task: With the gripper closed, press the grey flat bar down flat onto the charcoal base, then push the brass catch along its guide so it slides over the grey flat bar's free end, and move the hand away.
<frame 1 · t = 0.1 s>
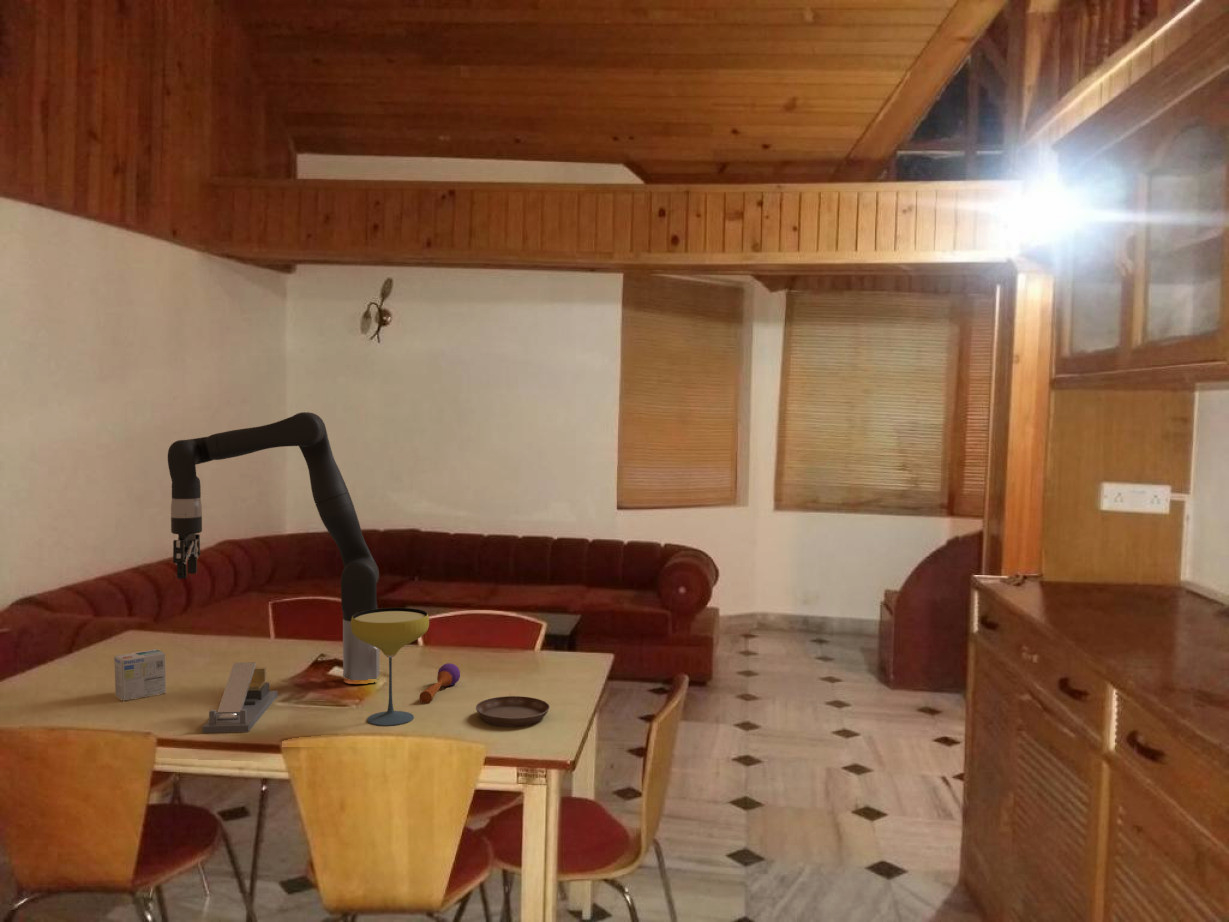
hand: (187, 576, 257), 29 cm above the table, tool pointing down, fingers open, 8 cm apart
plant saucer: (512, 719, 234), on the table
grey flat bar: (236, 690, 229), point 7 cm above the table, hinge at 30.0°
cocktail glass: (390, 719, 231), on the table
purple maraca: (439, 693, 254), on the table
light bulb box: (140, 696, 249), on the table
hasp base: (242, 713, 234), on the table
catch: (252, 678, 244), point 6 cm above the table, slide at 0.0 cm
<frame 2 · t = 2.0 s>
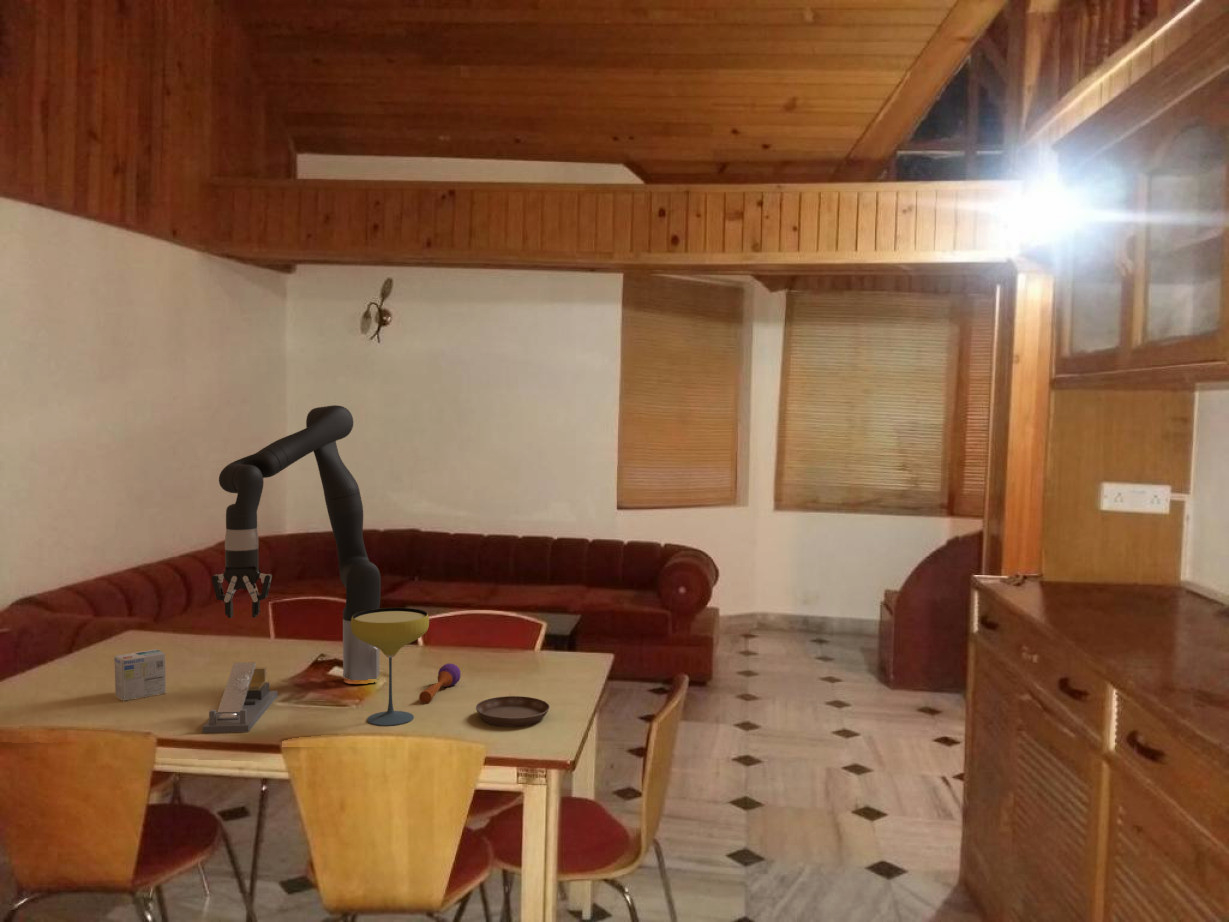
hand: (242, 616, 234), 23 cm above the table, tool pointing down, fingers open, 5 cm apart
nothing on the table moved.
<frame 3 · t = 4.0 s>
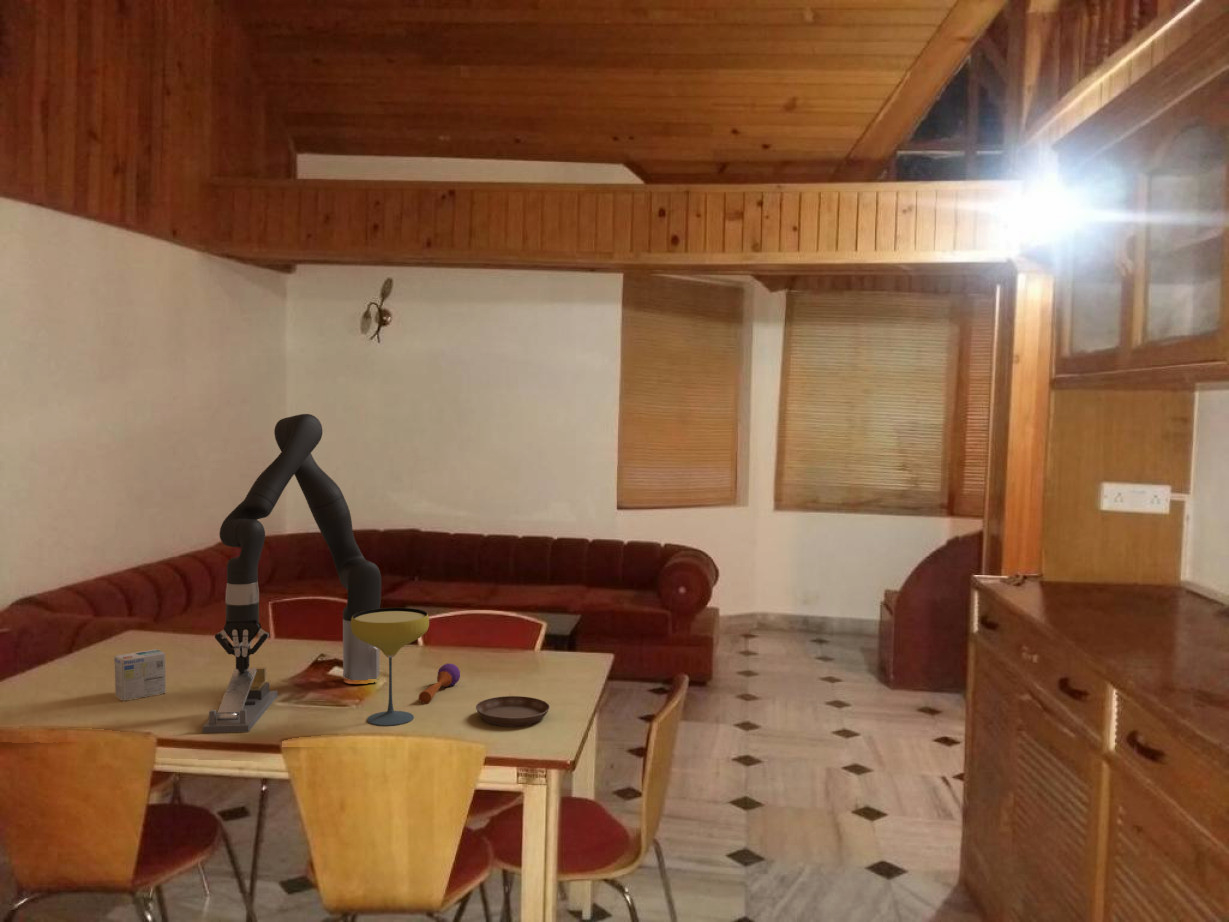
hand: (242, 671, 236), 10 cm above the table, tool pointing down, fingers closed
grey flat bar: (236, 693, 230), point 6 cm above the table, hinge at 23.8°, touching gripper
everything else where it was.
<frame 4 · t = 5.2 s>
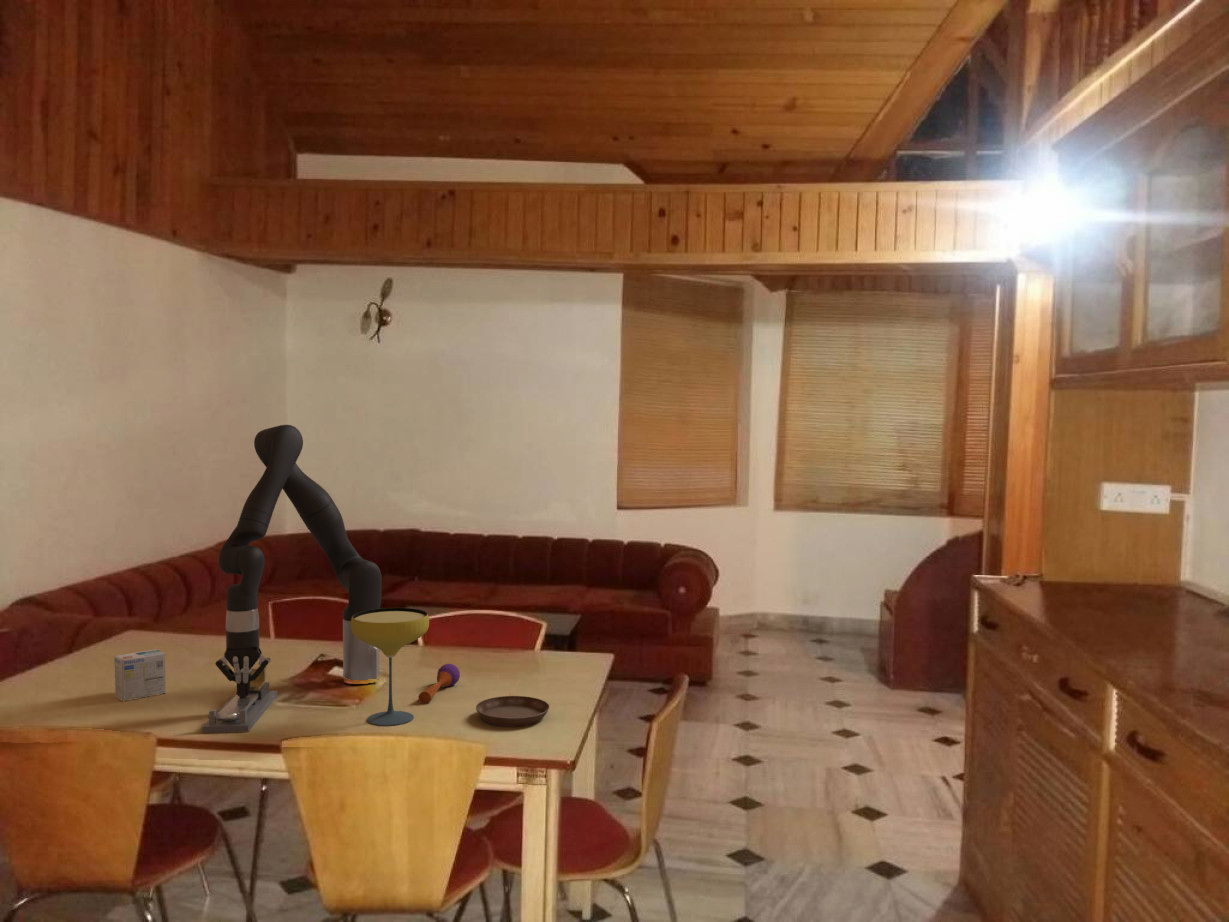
hand: (243, 697, 236), 3 cm above the table, tool pointing down, fingers closed
grey flat bar: (237, 706, 230), point 3 cm above the table, hinge at -0.1°, touching gripper
everything else where it was.
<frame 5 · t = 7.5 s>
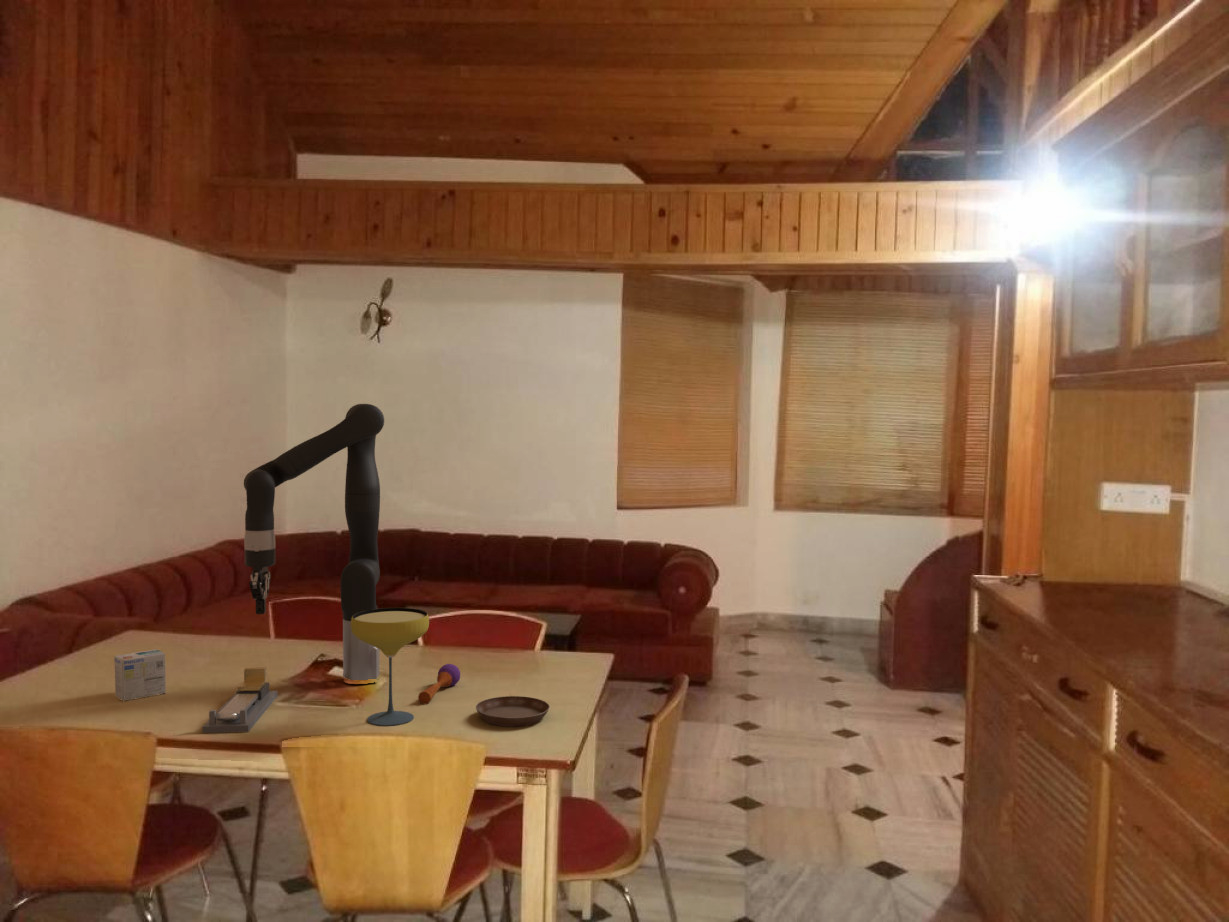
hand: (260, 613, 251), 21 cm above the table, tool pointing down, fingers closed
grey flat bar: (237, 706, 230), point 3 cm above the table, hinge at -0.1°
everything else where it was.
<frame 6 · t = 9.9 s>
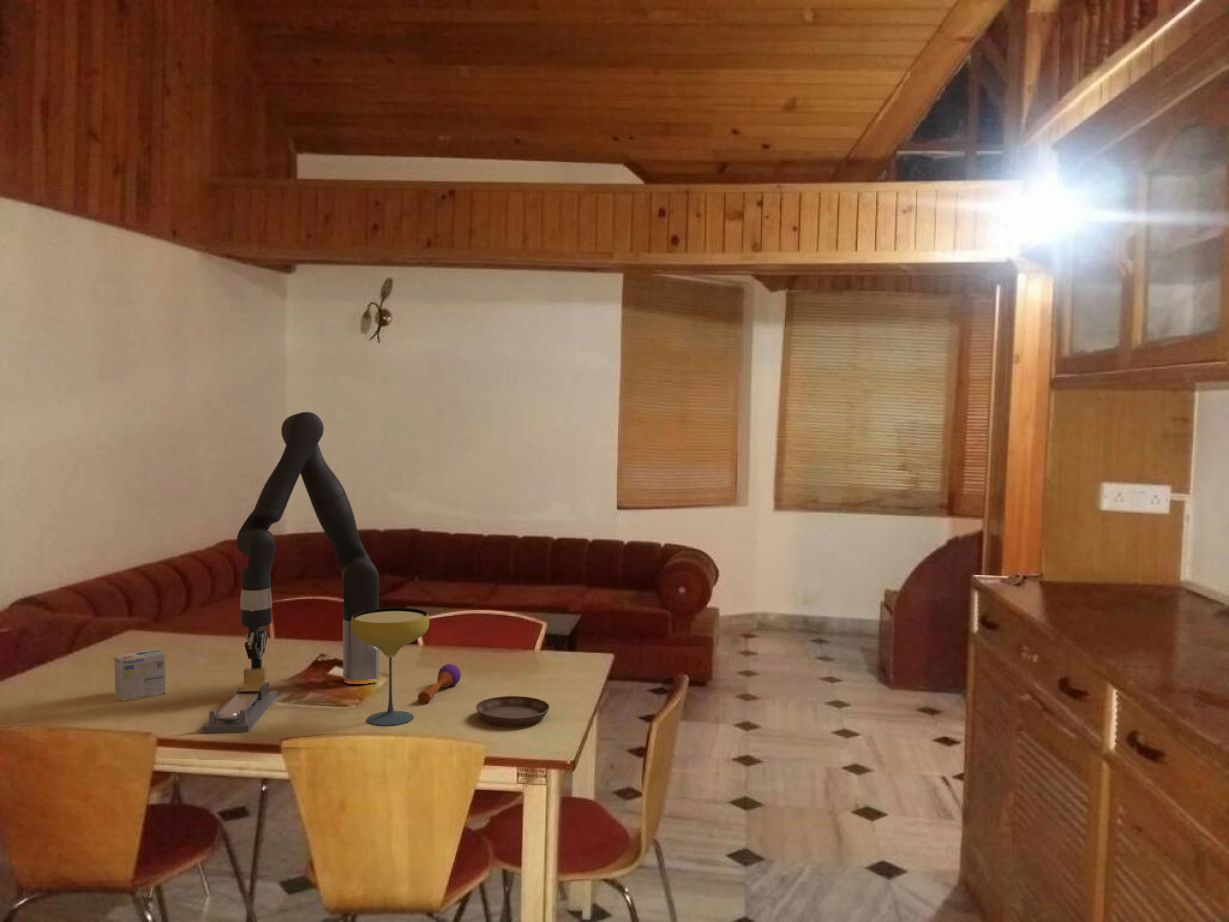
hand: (256, 673, 248), 6 cm above the table, tool pointing down, fingers closed
catch: (252, 679, 243), point 6 cm above the table, slide at 0.4 cm, touching gripper
everything else where it was.
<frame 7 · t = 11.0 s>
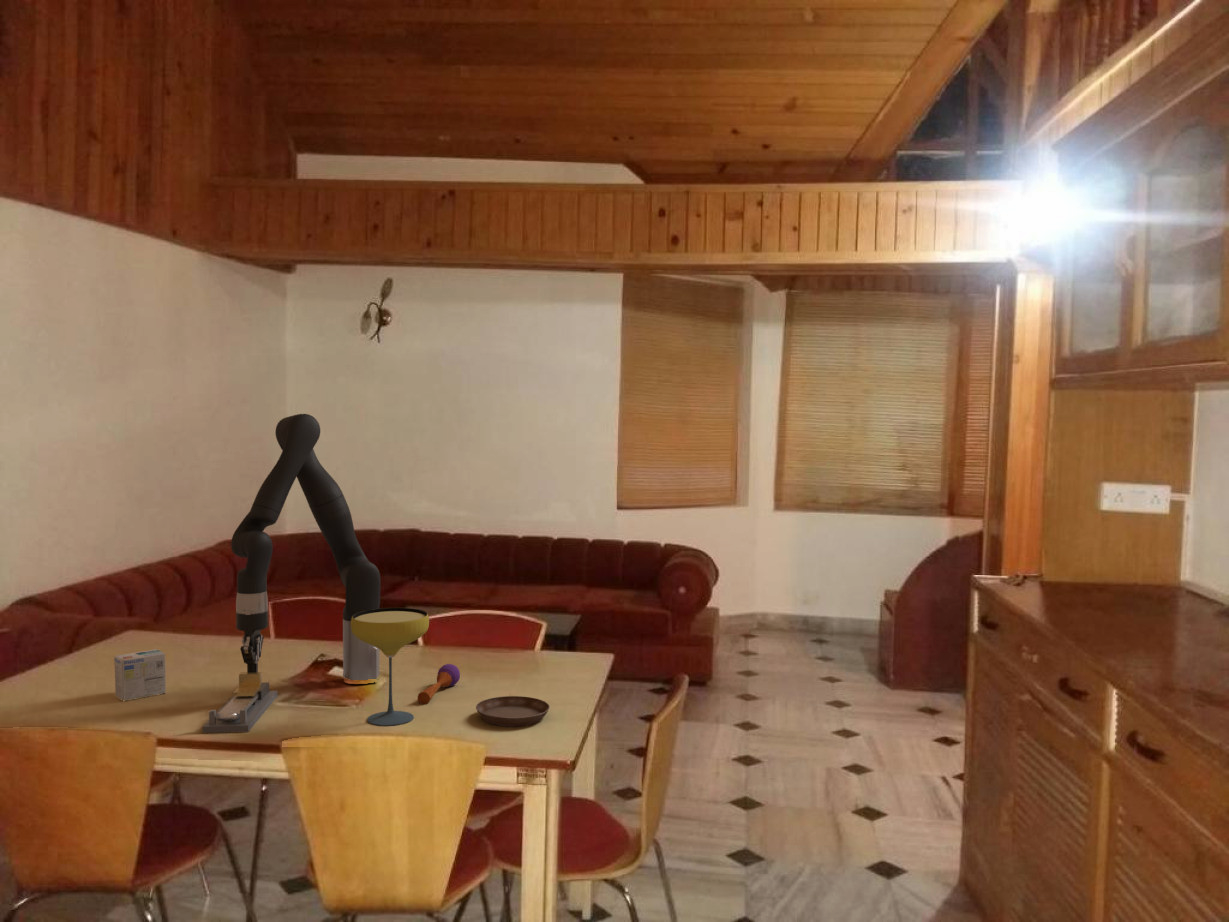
hand: (252, 677, 244), 6 cm above the table, tool pointing down, fingers closed
catch: (247, 684, 239), point 6 cm above the table, slide at 4.7 cm, touching gripper
everything else where it was.
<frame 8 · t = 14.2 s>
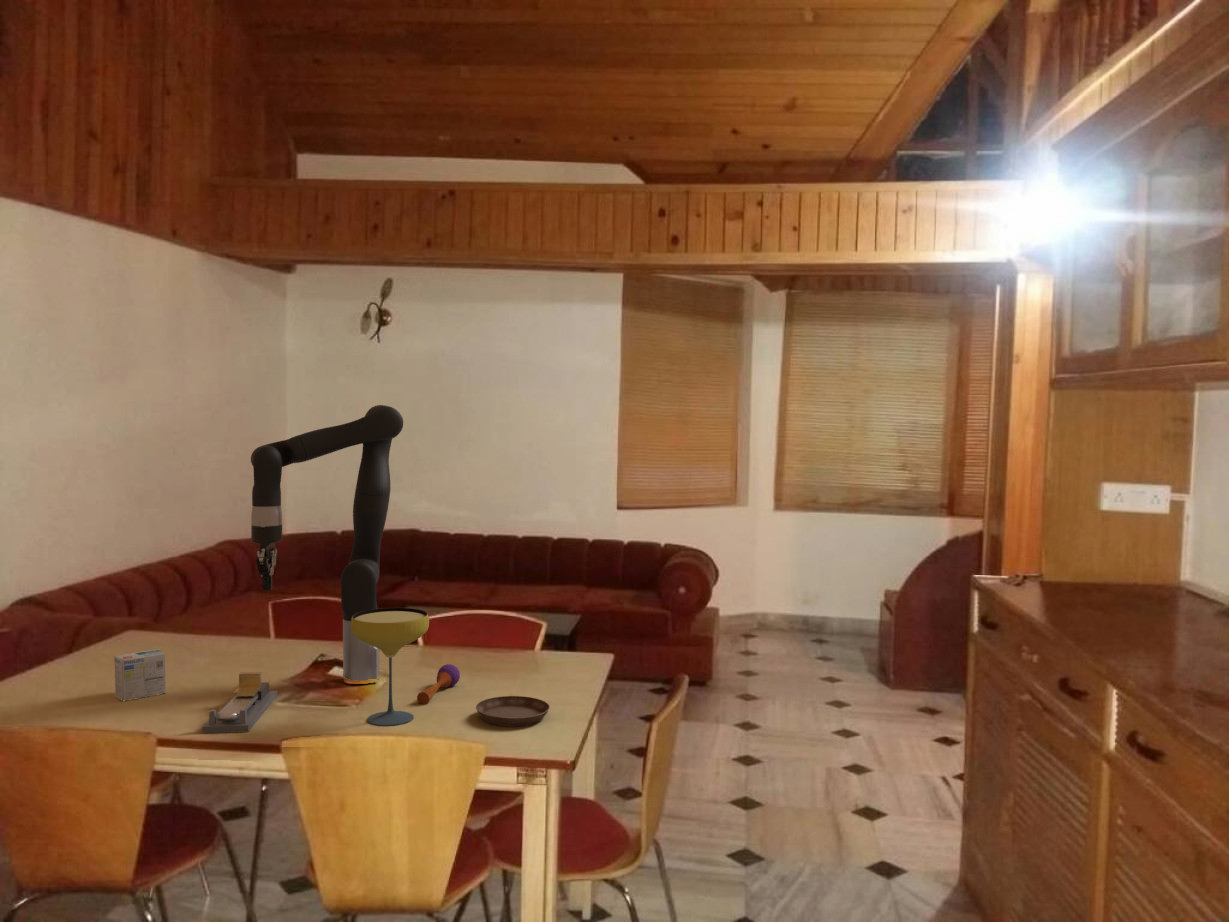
hand: (267, 590, 250), 27 cm above the table, tool pointing down, fingers closed
catch: (247, 684, 239), point 6 cm above the table, slide at 4.8 cm
everything else where it was.
at the end: grey flat bar at +0° (first picture: +30°); catch slide at 4.8 cm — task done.
